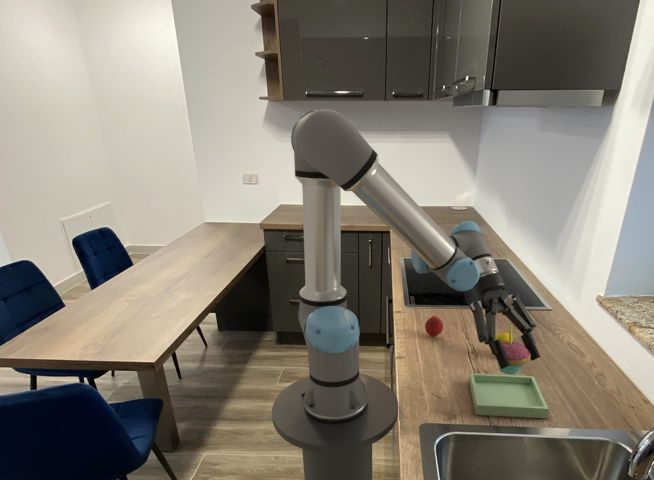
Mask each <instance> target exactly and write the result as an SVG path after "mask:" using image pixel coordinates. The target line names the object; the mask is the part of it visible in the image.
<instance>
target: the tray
mask: <svg viewBox="0 0 654 480" xmlns="http://www.w3.org/2000/svg"><path fill="white" fill-rule="evenodd" d="M468 382H469V388H470V393H471V397H472V402H473V407H474V412H475V416H493V417H509V418H511V417H512V418H515V417H516V418H529V419H548V414H549V407H548V405H547V402H546V400H545V398H544V396H543V393H542V391H541V389H540V387H539V384H538V383H537V380H536V377H534V376H533V375H517V374H514V375H509V374H494V373H493V374H491V373H472V372H471V373H470V374H469V381H468Z"/></svg>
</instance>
